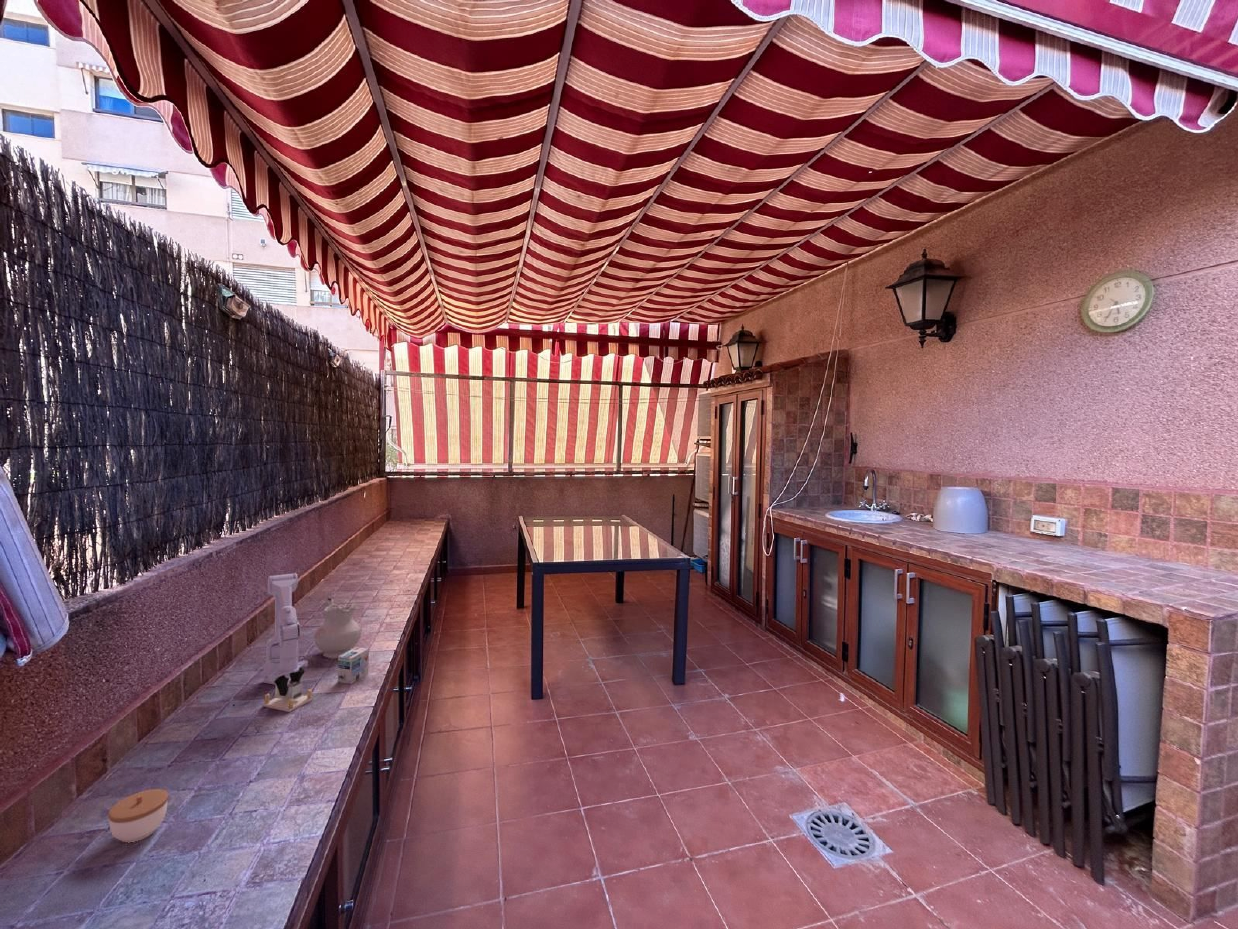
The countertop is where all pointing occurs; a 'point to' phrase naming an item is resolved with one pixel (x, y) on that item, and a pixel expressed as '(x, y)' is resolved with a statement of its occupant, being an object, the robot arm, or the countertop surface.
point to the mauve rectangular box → (290, 691)
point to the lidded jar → (138, 815)
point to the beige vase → (337, 630)
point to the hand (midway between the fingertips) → (288, 692)
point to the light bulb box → (353, 665)
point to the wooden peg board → (287, 702)
